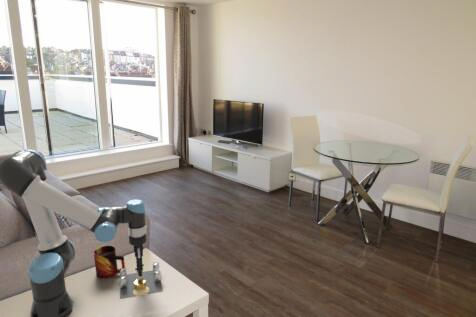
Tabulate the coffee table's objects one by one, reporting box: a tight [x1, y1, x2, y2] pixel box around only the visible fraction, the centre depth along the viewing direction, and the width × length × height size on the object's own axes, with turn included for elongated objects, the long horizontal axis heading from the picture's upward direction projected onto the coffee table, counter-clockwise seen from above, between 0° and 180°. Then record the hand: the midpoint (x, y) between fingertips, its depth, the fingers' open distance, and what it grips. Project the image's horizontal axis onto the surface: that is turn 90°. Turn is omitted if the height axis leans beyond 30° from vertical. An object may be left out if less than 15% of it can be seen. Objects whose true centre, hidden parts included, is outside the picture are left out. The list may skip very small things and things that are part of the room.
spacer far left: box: [119, 266, 128, 278], centre depth 160 cm, size 3×3×5 cm
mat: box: [119, 269, 164, 300], centre depth 157 cm, size 18×18×1 cm
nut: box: [134, 279, 146, 290], centre depth 155 cm, size 5×4×2 cm
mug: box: [93, 245, 126, 280], centre depth 164 cm, size 10×14×12 cm
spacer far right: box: [152, 262, 160, 274], centre depth 164 cm, size 3×3×5 cm
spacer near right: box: [154, 269, 162, 283], centre depth 158 cm, size 3×3×5 cm
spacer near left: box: [118, 276, 127, 290], centre depth 154 cm, size 3×3×5 cm
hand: (140, 280), depth 157 cm, fingers closed
